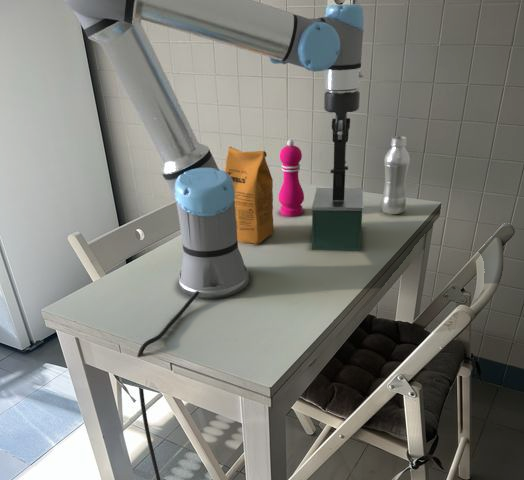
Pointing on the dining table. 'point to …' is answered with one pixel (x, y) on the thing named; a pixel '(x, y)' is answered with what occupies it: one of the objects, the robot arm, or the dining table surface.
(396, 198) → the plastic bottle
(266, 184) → the coffee package
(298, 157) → the pepper mill
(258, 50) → the robot arm
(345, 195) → the lid
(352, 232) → the tin
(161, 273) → the dining table surface
